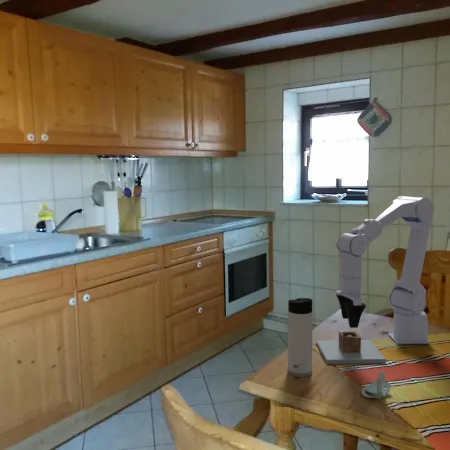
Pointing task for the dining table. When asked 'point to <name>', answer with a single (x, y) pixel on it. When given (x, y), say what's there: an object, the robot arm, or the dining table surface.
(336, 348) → the grey rectangular slab
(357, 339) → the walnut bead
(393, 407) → the dining table surface
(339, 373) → the dining table surface
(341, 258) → the robot arm
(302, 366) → the travel mug
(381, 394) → the pacifier
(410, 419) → the dining table surface
